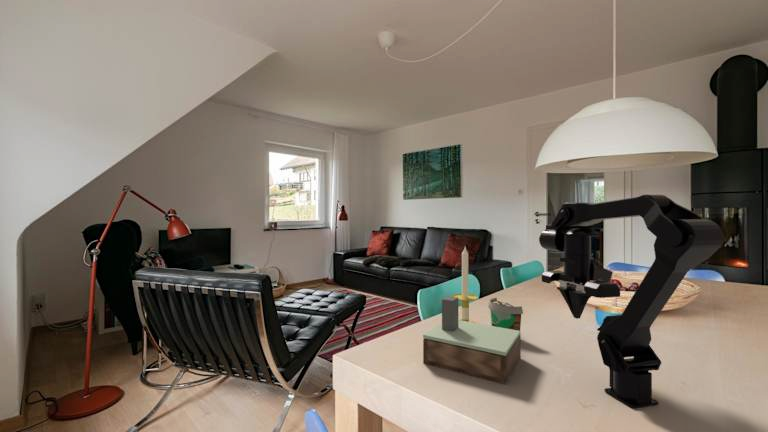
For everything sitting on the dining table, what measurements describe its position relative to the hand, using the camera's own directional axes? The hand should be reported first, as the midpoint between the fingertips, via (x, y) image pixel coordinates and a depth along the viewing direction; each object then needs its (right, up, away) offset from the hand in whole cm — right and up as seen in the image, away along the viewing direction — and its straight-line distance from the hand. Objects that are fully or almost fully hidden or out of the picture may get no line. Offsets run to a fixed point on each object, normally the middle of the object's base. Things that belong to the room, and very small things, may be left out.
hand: (577, 318), depth 82 cm
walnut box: (-24, -12, +4) cm, 27 cm away
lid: (-24, -6, +4) cm, 25 cm away
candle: (-20, -12, +30) cm, 38 cm away
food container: (-11, -12, +22) cm, 28 cm away
